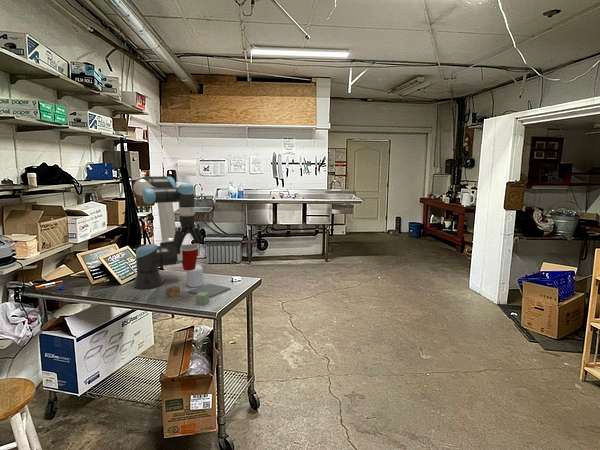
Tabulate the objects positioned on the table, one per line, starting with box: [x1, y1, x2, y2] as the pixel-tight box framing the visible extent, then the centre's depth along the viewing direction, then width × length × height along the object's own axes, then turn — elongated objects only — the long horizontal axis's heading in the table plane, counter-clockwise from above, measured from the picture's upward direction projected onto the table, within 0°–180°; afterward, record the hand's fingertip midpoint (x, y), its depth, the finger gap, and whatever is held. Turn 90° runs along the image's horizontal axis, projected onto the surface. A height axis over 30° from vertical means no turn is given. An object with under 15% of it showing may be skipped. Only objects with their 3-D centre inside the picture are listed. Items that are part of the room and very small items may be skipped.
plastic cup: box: [181, 243, 199, 271], centre depth 190 cm, size 11×11×12 cm
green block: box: [194, 292, 210, 306], centre depth 186 cm, size 5×5×5 cm
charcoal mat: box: [188, 283, 231, 299], centre depth 205 cm, size 16×16×1 cm
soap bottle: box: [186, 248, 204, 288], centre depth 214 cm, size 9×9×25 cm
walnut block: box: [165, 285, 181, 299], centre depth 197 cm, size 5×5×5 cm
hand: (188, 257), depth 190 cm, fingers closed on plastic cup, 11 cm apart
